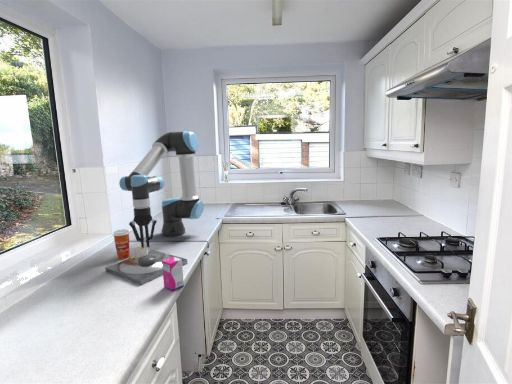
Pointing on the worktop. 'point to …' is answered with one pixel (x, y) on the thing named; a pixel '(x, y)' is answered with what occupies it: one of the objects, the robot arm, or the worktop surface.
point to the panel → (141, 268)
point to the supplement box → (172, 273)
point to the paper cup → (122, 243)
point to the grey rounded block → (144, 257)
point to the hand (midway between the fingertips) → (146, 253)
